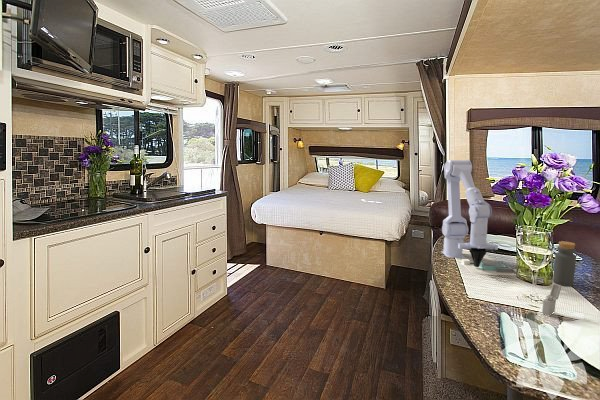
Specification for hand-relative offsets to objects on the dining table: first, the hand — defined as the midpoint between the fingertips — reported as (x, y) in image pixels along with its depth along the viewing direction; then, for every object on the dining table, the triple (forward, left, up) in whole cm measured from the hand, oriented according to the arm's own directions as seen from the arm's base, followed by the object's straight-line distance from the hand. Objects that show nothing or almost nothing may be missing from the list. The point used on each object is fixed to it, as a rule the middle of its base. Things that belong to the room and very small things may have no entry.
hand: (476, 266), depth 133 cm
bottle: (+12, +25, -2) cm, 28 cm away
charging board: (0, +4, -1) cm, 4 cm away
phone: (0, +6, -1) cm, 6 cm away
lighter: (+36, +7, -2) cm, 37 cm away
